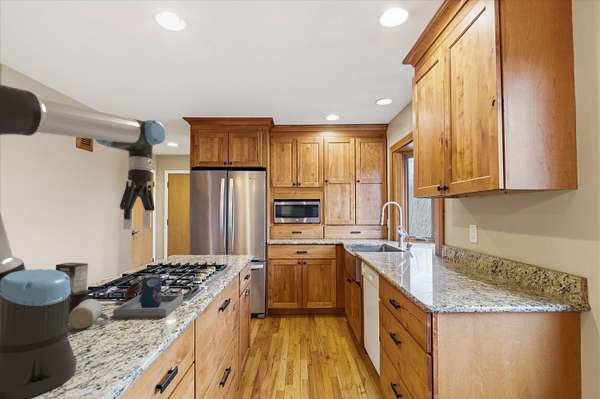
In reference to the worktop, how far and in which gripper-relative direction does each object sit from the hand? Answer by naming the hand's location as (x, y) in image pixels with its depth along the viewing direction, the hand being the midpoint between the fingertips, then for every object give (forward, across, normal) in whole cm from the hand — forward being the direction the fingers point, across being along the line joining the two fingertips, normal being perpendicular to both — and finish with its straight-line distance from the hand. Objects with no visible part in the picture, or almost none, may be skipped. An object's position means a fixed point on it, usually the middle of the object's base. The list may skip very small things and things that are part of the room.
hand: (137, 228), depth 105 cm
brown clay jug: (+31, +23, +9) cm, 40 cm away
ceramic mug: (+32, -7, +11) cm, 34 cm away
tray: (+31, +8, -2) cm, 32 cm away
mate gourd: (+32, +4, +22) cm, 39 cm away
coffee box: (+31, +17, +34) cm, 49 cm away
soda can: (+31, +8, -2) cm, 32 cm away
